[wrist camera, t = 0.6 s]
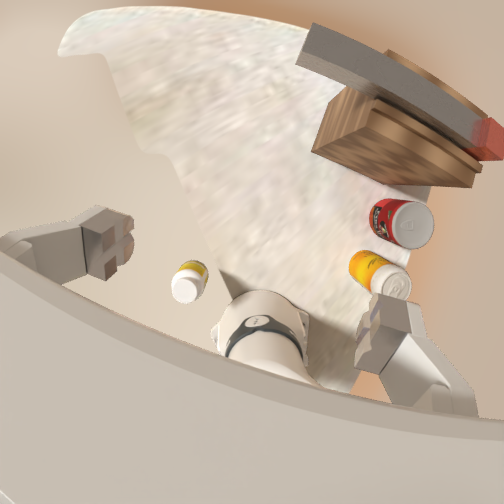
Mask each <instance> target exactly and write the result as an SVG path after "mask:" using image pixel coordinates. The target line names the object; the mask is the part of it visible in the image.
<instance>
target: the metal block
mask: <svg viewBox="0 0 504 504" xmlns="http://www.w3.org/2000/svg"><path fill="white" fill-rule="evenodd" d="M296 65H298V66H301V67H304V68H306V69H309V70H311V71H314V72H316V73H319V74H321V75H323V76H326V77H328V78H330V79H333V80H335V81H337V82H339V83H342V84H344V85H346V86H348V87H350V88H352V89H355V90H357V91H359V92H361V93H363V94H365V95H367V96H369V97H371V98H373V99H375V100H376V99H378V100H380V101H381V102H383V103H385V104H387V105H389V106H391V107H393V108H395V109H396V110H398V111H400V112H402V113H404V114H405V115H407V116H409V117H410V118H412V119H414V120H416V121H417V122H419V123H421V124H422V125H424V126H426V127H427V128H429V129H430V130H432V131H434V132H435V133H437V134H438V135H440V136H441V137H443V138H445V139H446V140H448V141H449V142H451V143H452V144H454V145H455V146H456V147H458V148H459V149H461V150H462V151H464V152H465V153H467V154H468V155H469V156H471V157H472V158H473V159H475V160H476V161H496V160H497V161H498V160H503V159H504V128H503V127H502V126H501V125H500V124H498V123H497V122H496V121H495V120H494V119H492V118H486V119H482V118H481V117H479V116H478V115H477V114H476V113H474V112H473V111H472V110H470V109H469V108H468V107H466V106H465V105H464V104H462V103H461V102H459V101H458V100H457V99H455V98H454V97H452V96H451V95H450V94H448V93H447V92H445V91H444V90H442V89H441V88H439V87H438V86H436V85H435V84H433V83H432V82H430V81H428V80H427V79H425V78H424V77H422V76H420V75H419V74H417V73H416V72H414V71H412V70H411V69H409V68H407V67H405V66H404V65H402V64H400V63H398V62H397V61H395V60H393V59H391V58H389V57H387V56H386V55H384V54H382V53H380V52H378V51H376V50H374V49H372V48H370V47H368V46H366V45H364V44H362V43H360V42H358V41H356V40H353V39H351V38H349V37H347V36H344V35H342V34H340V33H338V32H335V31H333V30H330V29H328V28H326V27H323V26H321V25H318V24H316V23H312V26H311V28H310V30H309V32H308V34H307V37H306V39H305V41H304V44H303V46H302V49H301V51H300V54H299V56H298V59H297V61H296Z"/></svg>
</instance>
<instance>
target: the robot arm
mask: <svg viewBox="0 0 504 504" xmlns="http://www.w3.org/2000/svg"><path fill="white" fill-rule="evenodd" d="M133 229H134V219H133V218H132V217H131V216H130V215H127V214H124V213H121V212H118V211H115V210H112V209H109V208H106V207H103V206H99V205H95V206H93V207H92V208H90V209H88V210H86V211H85V212H83V213H82V214H80V215H78V216H76V217H75V218H73V219H72V220H70V221H68V222H67V221H61V222H55V223H50V224H45V225H40V226H35V227H30V228H26V229H20V230H16V231H11V232H8V233H7V234H6V235H4V236H2V237H1V238H0V504H504V420H496V419H486V418H479V416H478V410H477V405H476V400H475V395H474V391H473V390H472V388H471V387H470V386H469V384H468V383H467V382H466V381H465V379H464V378H463V377H462V376H461V374H460V373H459V372H458V371H457V369H456V368H455V367H454V366H453V365H452V363H451V362H450V361H449V360H448V359H447V357H446V356H445V355H444V354H443V353H442V351H441V350H440V349H439V348H438V347H437V346H436V344H435V343H434V342H433V341H432V340H431V339H428V338H427V335H426V330H425V325H424V321H423V316H422V312H421V308H420V305H419V304H416V303H413V302H409V301H405V300H401V299H398V298H394V297H391V296H387V295H383V294H380V293H376V292H375V294H374V295H373V296H372V298H371V300H370V302H369V311H367V312H366V313H364V314H363V316H362V318H361V320H360V323H359V325H358V328H357V333H356V343H357V345H358V348H357V350H356V351H355V363H354V368H356V369H360V370H363V371H367V372H371V373H374V374H378V375H379V378H380V380H381V382H382V384H383V386H384V388H385V390H386V392H387V394H388V396H389V397H390V400H391V402H392V404H390V403H386V402H381V401H377V400H372V399H368V398H363V397H359V396H355V395H351V394H347V393H343V392H339V391H335V390H331V389H327V388H324V387H323V386H321V385H320V384H319V383H317V382H316V381H315V380H314V379H313V378H312V377H311V376H310V375H309V374H308V372H307V370H306V368H305V367H307V366H308V355H306V349H307V339H308V329H309V315H308V314H307V313H306V312H305V311H303V310H300V309H297V308H295V307H294V306H293V305H292V304H291V303H290V302H289V301H288V300H287V299H285V298H284V297H282V296H281V295H279V294H277V293H274V292H271V291H266V290H255V291H250V292H247V293H244V294H242V295H240V296H238V297H237V298H235V299H234V300H233V301H232V302H231V303H230V304H229V305H228V307H227V308H226V310H225V312H224V314H223V316H222V318H221V320H220V321H219V322H218V323H217V324H216V325H215V326H214V327H213V328H212V329H211V337H212V340H213V341H214V344H215V346H216V348H217V350H218V352H219V354H220V355H219V354H216V353H213V352H210V351H208V350H205V349H202V348H200V347H197V346H194V345H192V344H189V343H187V342H184V341H182V340H179V339H177V338H174V337H172V336H169V335H167V334H165V333H162V332H159V331H157V330H155V329H153V328H150V327H148V326H146V325H143V324H141V323H139V322H137V321H134V320H132V319H130V318H128V317H125V316H123V315H121V314H119V313H117V312H114V311H112V310H110V309H108V308H106V307H104V306H102V305H100V304H97V303H95V302H93V301H91V300H89V299H87V298H85V297H83V296H81V295H79V294H77V293H75V292H73V291H71V290H69V289H67V288H65V287H64V286H62V284H64V283H67V282H69V281H72V280H74V279H77V278H80V277H82V276H85V275H87V274H89V275H91V276H94V277H97V278H99V279H102V280H104V281H107V280H108V279H109V278H110V277H111V276H112V275H113V274H114V273H115V272H117V266H120V265H124V264H125V263H126V262H127V261H128V260H129V259H130V257H131V255H132V253H133V249H134V239H133V237H132V235H131V232H132V230H133ZM302 323H304V325H303V324H302ZM217 338H218V339H217Z"/></svg>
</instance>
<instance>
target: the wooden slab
mask: <svg viewBox="0 0 504 504" xmlns="http://www.w3.org/2000/svg"><path fill="white" fill-rule="evenodd" d="M384 55H386V56H387V57H389V58H391V59H393V60H395V61H397V62H398V63H400V64H402V65H404V66H405V67H407V68H409V69H411V70H412V71H414V72H416V73H417V74H419V75H420V76H422V77H424V78H425V79H427V80H428V81H430V82H432V83H433V84H435V85H436V86H438V87H439V88H441V89H442V90H444V91H445V92H447V93H448V94H450V95H451V96H452V97H454V98H455V99H457V100H458V101H459V102H461V103H462V104H464V105H465V106H466V107H468V108H469V109H470V110H472V111H473V112H474V113H476V114H477V115H478V116H479V117H481V118H482V119H486V118H488V115H487V114H485V113H484V112H483V111H482V110H480V109H479V108H478V107H477V106H475V105H474V104H473V103H471V102H470V101H469V100H467V99H466V98H465V97H463V96H462V95H461V94H459V93H458V92H456V91H455V90H454V89H452V88H451V87H449V86H448V85H447V84H445V83H443V82H442V81H441V80H439V79H438V78H436V77H435V76H433V75H432V74H430V73H428V72H427V71H425V70H424V69H422V68H420V67H419V66H417V65H416V64H414V63H412V62H411V61H409V60H407V59H405V58H404V57H402V56H400V55H398V54H397V53H395V52H393V51H391V50H387V51H386V52H385V53H384ZM311 152H313V153H315V154H318V155H320V156H322V157H325V158H327V159H329V160H332V161H334V162H336V163H339V164H341V165H343V166H345V167H348V168H350V169H352V170H354V171H356V172H359V173H361V174H363V175H365V176H367V177H369V178H371V179H374V180H376V181H378V182H380V183H382V184H389V185H422V186H443V187H444V186H445V187H461V188H472V185H473V182H474V178H475V174H476V173H481V170H482V167H483V165H482V164H480V163H479V161H476V160H475V159H473V158H472V157H471V156H469V155H468V154H467V153H465V152H464V151H462V150H461V149H459V148H458V147H456V146H455V145H454V144H452V143H451V142H449V141H448V140H446V139H445V138H443V137H441V136H440V135H438V134H437V133H435V132H434V131H432V130H430V129H429V128H427V127H426V126H424V125H422V124H421V123H419V122H417V121H416V120H414V119H412V118H410V117H409V116H407V115H405V114H404V113H402V112H400V111H398V110H396V109H395V108H393V107H391V106H389V105H387V104H385V103H383V102H381V101H380V100H378V99H376V100H375V99H373V98H371V97H369V96H367V95H365V94H363V93H361V92H359V91H357V90H355V89H352V88H350V87H348V86H346V87H345V88H344V89H343V90H342V91H341V92H340V93H339V94H338V95H336V96H335V97H334V98H333V99H332V100H331V101H330V102H329V103H328V106H327V109H326V112H325V114H324V117H323V120H322V123H321V125H320V128H319V131H318V134H317V137H316V139H315V142H314V145H313V148H312V150H311Z"/></svg>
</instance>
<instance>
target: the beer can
mask: <svg viewBox="0 0 504 504" xmlns="http://www.w3.org/2000/svg"><path fill="white" fill-rule="evenodd" d="M349 272H350V275H351V276H352V278H353V279H354V280H356V281H357V282H358V283H359V284H360V285H361V286H362V287H364V288H365V289H366V290H367V291H368V292H369V293H370V294H372V295H374V294H375V292H376V293H380V294H383V295H387V296H391V297H394V298H398V299H401V300H405V301H406V300H407V299H408V297H409V295H410V293H411V289H412V283H411V280H410V277H409V275H408V273H407V272H406V271H405V270H404V269H402V268H400V267H398V266H397V265H395V264H393V263H391V262H389V261H388V260H386V259H384V258H382V257H380V256H378V255H377V254H375V253H373V252H371V251H368V250H362V251H359V252H357V253H356V254H355V255H354V256H353V257H352V258H351V260H350V263H349Z"/></svg>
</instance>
